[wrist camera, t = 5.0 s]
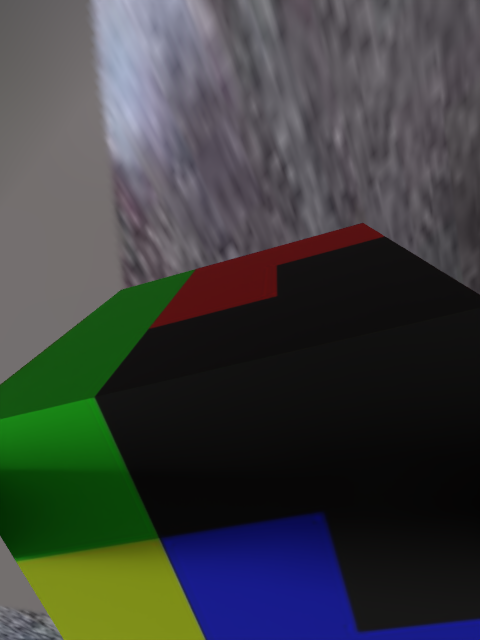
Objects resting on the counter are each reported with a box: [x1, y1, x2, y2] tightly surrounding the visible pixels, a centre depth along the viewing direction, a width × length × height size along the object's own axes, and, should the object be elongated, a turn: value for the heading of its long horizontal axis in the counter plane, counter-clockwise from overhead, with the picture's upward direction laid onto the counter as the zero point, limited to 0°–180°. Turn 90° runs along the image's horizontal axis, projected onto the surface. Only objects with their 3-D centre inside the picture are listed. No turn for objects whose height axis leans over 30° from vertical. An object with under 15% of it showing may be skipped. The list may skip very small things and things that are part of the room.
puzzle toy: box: [0, 223, 480, 640], centre depth 13 cm, size 10×10×10 cm
